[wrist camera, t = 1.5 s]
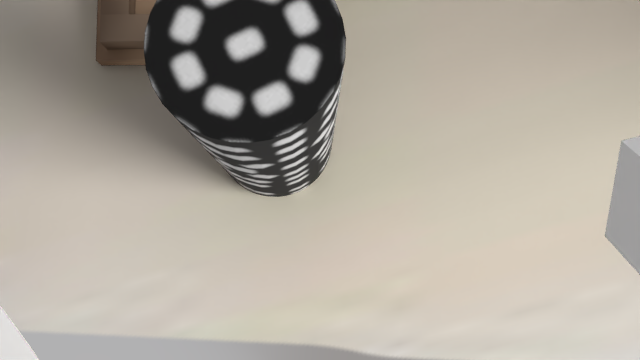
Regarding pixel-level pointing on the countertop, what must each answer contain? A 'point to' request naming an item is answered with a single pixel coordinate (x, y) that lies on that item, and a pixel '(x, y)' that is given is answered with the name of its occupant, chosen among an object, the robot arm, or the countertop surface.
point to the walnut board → (121, 54)
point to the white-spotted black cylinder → (252, 83)
